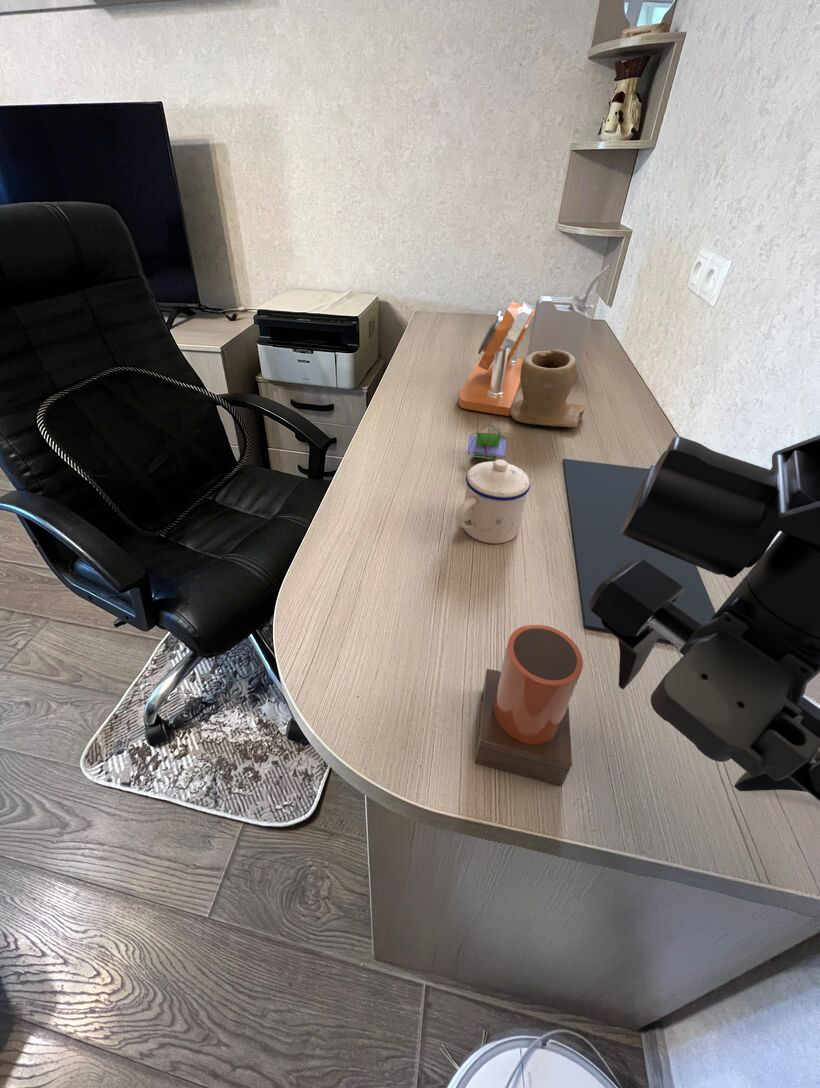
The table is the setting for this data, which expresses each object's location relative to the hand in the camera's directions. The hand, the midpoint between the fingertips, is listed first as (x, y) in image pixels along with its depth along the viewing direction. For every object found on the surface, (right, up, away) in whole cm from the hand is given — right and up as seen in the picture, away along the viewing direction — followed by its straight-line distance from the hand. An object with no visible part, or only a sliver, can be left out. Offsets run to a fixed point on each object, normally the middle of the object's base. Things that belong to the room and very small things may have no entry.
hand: (677, 731), depth 39 cm
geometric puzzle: (-2, +24, +55) cm, 60 cm away
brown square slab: (-9, -6, +12) cm, 16 cm away
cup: (-9, -3, +9) cm, 13 cm away
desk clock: (+6, +43, +82) cm, 93 cm away
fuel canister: (+25, +50, +93) cm, 108 cm away
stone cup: (+13, +33, +67) cm, 76 cm away
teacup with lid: (-6, +12, +38) cm, 40 cm away
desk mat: (+15, +12, +37) cm, 42 cm away
